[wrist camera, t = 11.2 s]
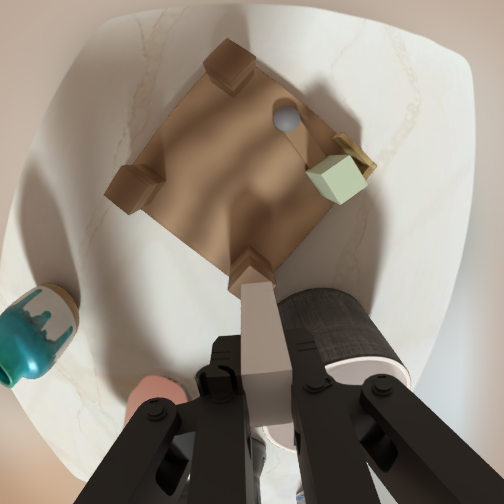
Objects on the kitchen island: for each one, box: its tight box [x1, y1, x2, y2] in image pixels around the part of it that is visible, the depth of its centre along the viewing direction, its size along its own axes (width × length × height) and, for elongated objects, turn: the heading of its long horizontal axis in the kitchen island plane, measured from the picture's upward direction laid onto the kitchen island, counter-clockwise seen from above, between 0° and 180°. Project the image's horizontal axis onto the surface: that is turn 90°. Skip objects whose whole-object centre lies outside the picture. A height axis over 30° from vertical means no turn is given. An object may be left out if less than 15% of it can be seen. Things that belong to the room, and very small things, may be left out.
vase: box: [0, 284, 79, 388], centre depth 30 cm, size 11×11×19 cm
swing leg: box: [273, 106, 368, 205], centre depth 27 cm, size 4×11×7 cm, turn 36°
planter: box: [262, 288, 411, 453], centre depth 34 cm, size 18×18×16 cm
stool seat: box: [104, 38, 377, 300], centre depth 29 cm, size 22×22×9 cm
